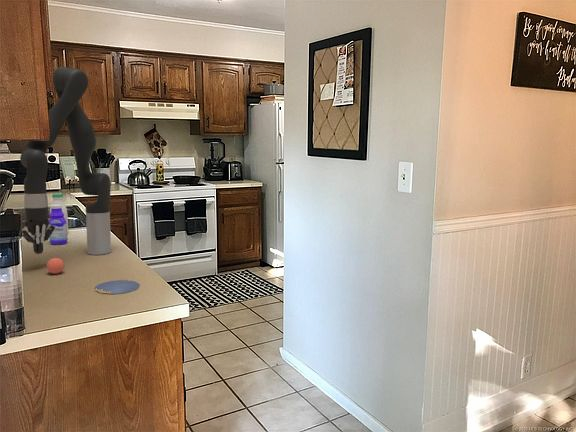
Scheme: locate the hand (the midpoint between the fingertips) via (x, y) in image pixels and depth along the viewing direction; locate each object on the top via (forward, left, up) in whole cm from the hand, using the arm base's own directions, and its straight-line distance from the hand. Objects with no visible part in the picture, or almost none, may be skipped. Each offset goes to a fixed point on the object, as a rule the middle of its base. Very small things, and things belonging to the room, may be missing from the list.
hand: (38, 253), depth 172 cm
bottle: (-42, +1, -6) cm, 42 cm away
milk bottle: (-62, -1, -6) cm, 62 cm away
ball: (+6, +6, -3) cm, 9 cm away
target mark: (+27, +27, -6) cm, 39 cm away
